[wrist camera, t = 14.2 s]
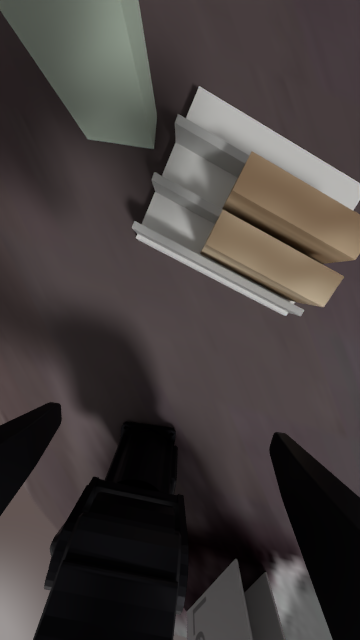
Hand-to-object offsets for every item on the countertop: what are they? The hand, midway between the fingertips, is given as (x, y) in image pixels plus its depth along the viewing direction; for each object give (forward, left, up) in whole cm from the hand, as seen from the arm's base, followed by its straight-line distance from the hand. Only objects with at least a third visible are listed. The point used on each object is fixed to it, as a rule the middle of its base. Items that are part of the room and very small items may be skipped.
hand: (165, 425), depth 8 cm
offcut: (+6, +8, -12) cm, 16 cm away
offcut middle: (+7, +12, -12) cm, 18 cm away
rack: (+5, +13, -13) cm, 19 cm away
